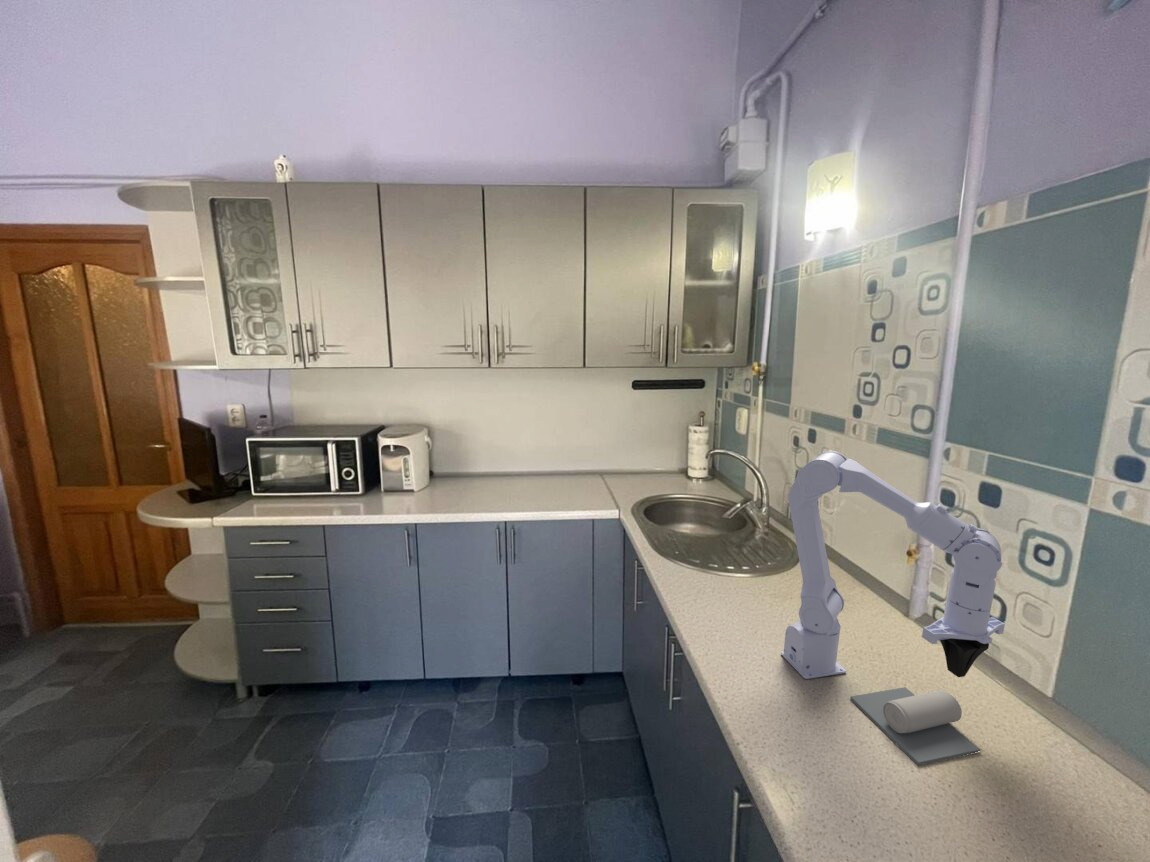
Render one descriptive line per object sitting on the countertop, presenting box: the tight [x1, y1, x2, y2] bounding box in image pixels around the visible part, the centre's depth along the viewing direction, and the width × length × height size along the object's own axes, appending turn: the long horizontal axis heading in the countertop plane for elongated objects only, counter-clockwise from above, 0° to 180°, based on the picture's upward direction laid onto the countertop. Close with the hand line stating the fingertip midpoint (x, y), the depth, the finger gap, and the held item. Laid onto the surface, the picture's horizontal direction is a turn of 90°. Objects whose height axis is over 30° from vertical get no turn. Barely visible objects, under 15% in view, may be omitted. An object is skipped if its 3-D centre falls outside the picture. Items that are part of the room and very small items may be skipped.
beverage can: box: [883, 689, 963, 733], centre depth 80 cm, size 5×5×12 cm
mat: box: [850, 686, 982, 766], centre depth 81 cm, size 12×14×1 cm
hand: (955, 672), depth 81 cm, fingers closed
